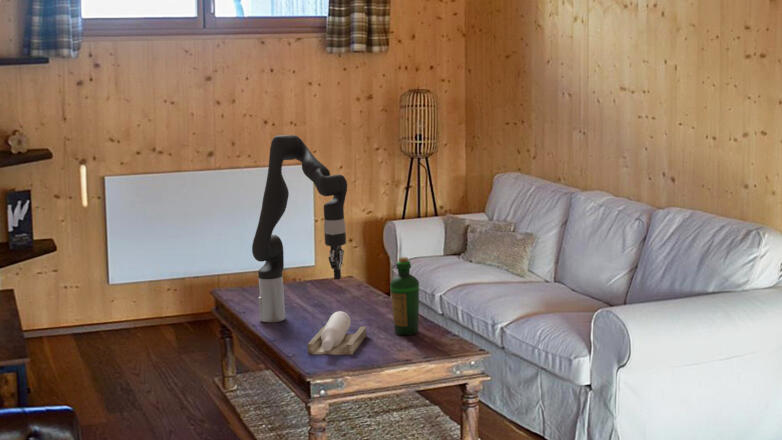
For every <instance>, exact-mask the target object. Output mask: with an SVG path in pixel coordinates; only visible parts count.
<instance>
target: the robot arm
mask: <svg viewBox="0 0 782 440" xmlns="http://www.w3.org/2000/svg"><path fill="white" fill-rule="evenodd" d="M268 157H269V158H268V169H267V176H266V181H265V182H266V183H265V187H264V192H263V197H262V203H261V204H262V205H261V210H260V215H259V219H258V223H257V228H256V231H255V233H254V238H253V240H252V245H251V251H252V252H251V253H252V256H253V258H254V260H256V261H257V262H264V264H263V266H262V267H261V268H260V269H259V270H258V272H257V273H258V275H257V276H258V287H259V297H258V299H257V300H258V301H257V302H258V312H259V313H258V314H259V322H264V323H279V322H282V321H285V319H286V312H285V311H286V310H285V309H286V308H285V295H284V294H285V293H284V281H283V277H284V276H283V272H284V267H285V266H284V265H285V263H284V245H283V241H282V239H281V238H280V237H279V236H278V235H277V234H273V231H274V229H275V227H276V226H277V224H278V223H279V221H280V220H281V218H282V217H283V216H284V213H285V211H286V208H287V205H288V200H289V189H288V186H287V183H286V181H285V179H284V176H283V172H282V169H283V163H284V161H291V160H292V161H294V160H296V161H299V162H300V163H301V169H302V172H303V174H304V175H305V177H307V178H308V179H309V180H311V182H312V183H313V184H314V186H315V188H316V191H317V192H318V194H319V195H321V196H323V197H331V196H333V197H332V199H331V200H330V201H328V202H326V203H324V205H323V219H324V220H323V221H324V222H323V231H324V232H323V233H324V245H326V246H327V247H330V250H329V253H328V254H329V256H328V261H329V264H330V267H331V269H332V270H333V279H334V280H340V279H341V278H342V270H341V269H342V266H343V261H344V253H345V251H344V249H343V248H342V246H344V245H346V244H347V233H346V223H345V222H346V221H345V213H344V209H345V207H344V206H345V202H346V196H347V191H348V181H347V179H346V177H344V175H343V174H333V175H331V171H330V170H329V169H328V168H327V167H326V166H325V165H324V164H323V163H322V162H320V161H319V160H318V159H317V158H316V157H315V155H314V154H312V152H311V150H309V147H308V146H307V145H306V144H305V143H304V141H303V140H302V139H301V138H300V137H299V136H297V135H294V134H287V135H285V134H281V135H280V134H279V135H275V136H274V137H273V138H272V140H271V143H270V148H269V156H268Z"/></svg>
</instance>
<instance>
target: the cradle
mask: <svg viewBox="0 0 782 440" xmlns="http://www.w3.org/2000/svg"><path fill="white" fill-rule="evenodd" d="M325 326H326V325H325ZM325 326H322V328H321V329H320V330H319V331H318V332H317V333H316V334H315V335H314V336H313V337H312V338H311V340H310V341H309V342H308V343H307V355H333V356H335V355H336V356H337V355H338V356H340V355H341V356H343V355H345V356H347V355H348V356H349V355H350V356H353V355H354V354H355V352H356V351H357V350H358V348H359V347H360V345H362V343H363V342H364V341H365V339H366V338H367V336H368V335H367V326H360V327H359V328H358V330H357V331H356V332H355V333H346V334H345V336H344V338H343V340H342V342H341V344H340V345H339V346H337V347H334V348H332V349H331V350H329V351H325V350H323V348H322V340H321V333H322V331H323V329H324V328H325Z"/></svg>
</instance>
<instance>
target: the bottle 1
mask: <svg viewBox="0 0 782 440" xmlns="http://www.w3.org/2000/svg"><path fill="white" fill-rule="evenodd" d="M351 322H352V321H351V317H350V316H349V314H348V313H346V312H344V311H341V310H339V311H335V312H333V314H331V316H329V319H328V321H327V323H326V324H325V328H324V329H323V331H322V333H321V340H322V348H323V350H325V351H329V350H331V349H332V348H334V347H337V346H339V345H340V344H341V342H342V340H343V338H344V336H345V334H347V332H348V330H349V328H350V326H351Z"/></svg>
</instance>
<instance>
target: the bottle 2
mask: <svg viewBox="0 0 782 440" xmlns="http://www.w3.org/2000/svg"><path fill="white" fill-rule="evenodd" d="M395 268H396V269H397V273H398V274H396V276H394V277H393V278H392V280H391V281H390V283H389V288H390V297H391V308H392V316H393V318H392V319H393V326H394V333H395V334H397V335H398V336H413V335H416V334H418V332H419V314H420V313H419V309H420V306H419V305H420V303H419V302H420V296H419V295H420V281H419V280H418V279H417V277H415V276H414V275H412V274H410V270H411V268H412V265H411V261H410V260H408V257H406V256H404V257H403V256H401V257H399V258H398V261H397V262H396V266H395Z"/></svg>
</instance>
